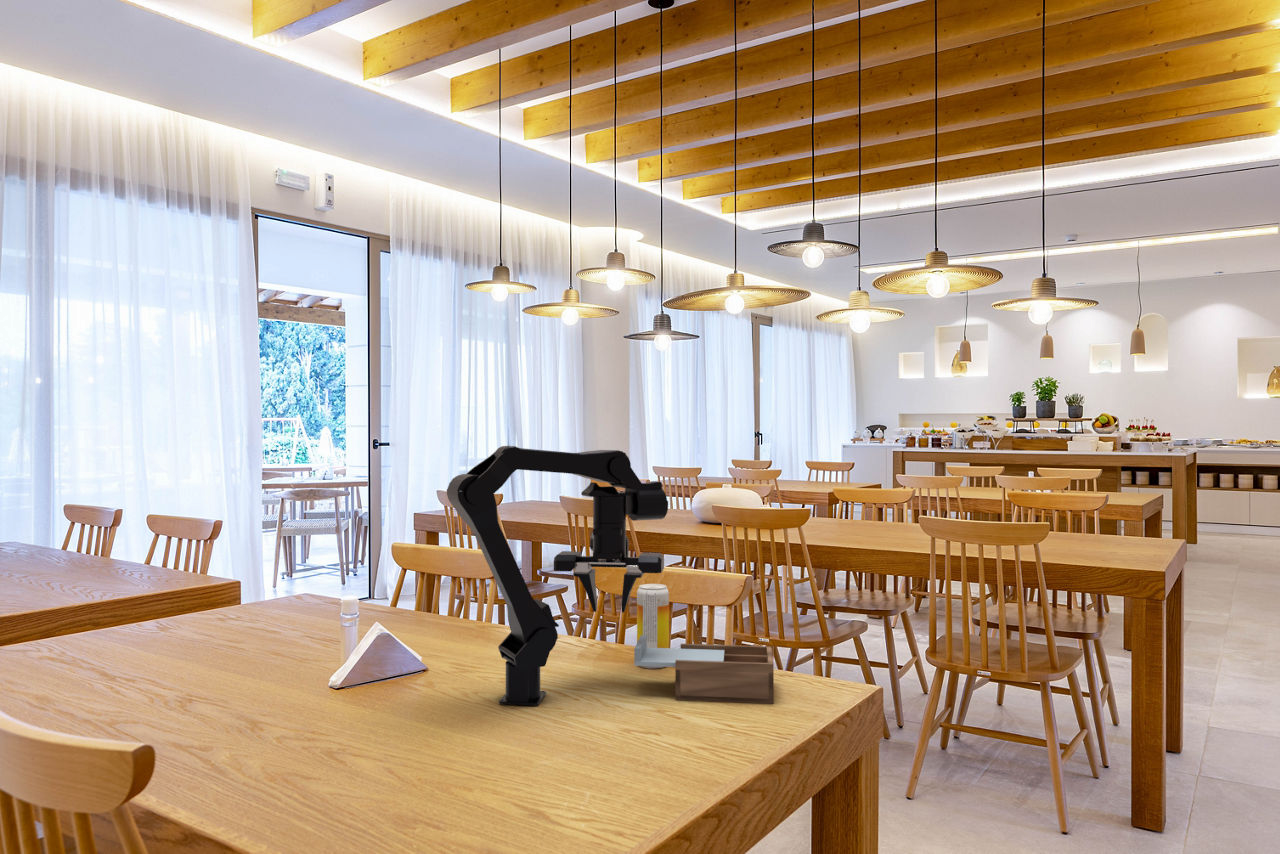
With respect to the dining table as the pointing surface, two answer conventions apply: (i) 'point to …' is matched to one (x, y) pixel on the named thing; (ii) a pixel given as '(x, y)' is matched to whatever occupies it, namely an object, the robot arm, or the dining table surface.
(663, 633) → the beer can
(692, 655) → the lid
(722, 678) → the walnut box
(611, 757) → the dining table surface
